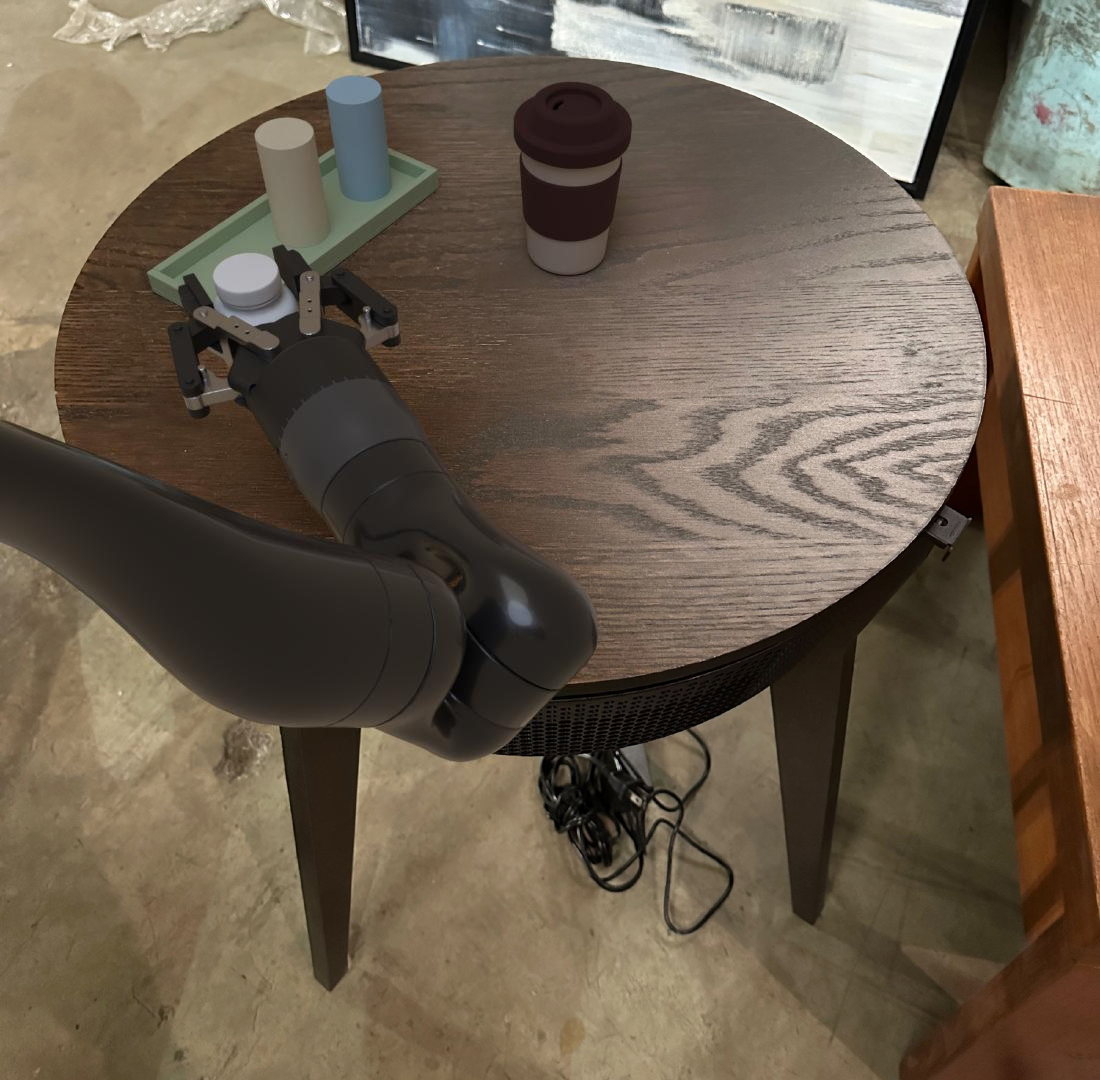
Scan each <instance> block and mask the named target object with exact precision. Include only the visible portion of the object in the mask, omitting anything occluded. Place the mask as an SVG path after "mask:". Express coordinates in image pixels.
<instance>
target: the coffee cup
mask: <svg viewBox="0 0 1100 1080" xmlns="http://www.w3.org/2000/svg"><path fill="white" fill-rule="evenodd" d="M632 130H633V121H632V118H631V115H630V113H629V112H628V110H627V109H626V108H625V107H624V106H623V105H622V104H621V103H620V102H618V101H616V100H615V99H614V98H613V97H612V95H611V94H610V93H609V92H607V91H606V90H605V89H603V88H601V87H599V86H597V85H594V84H591V83H587V82H582V81H561V82H556V83H552V84H549V85H546V86H545V87H543V88H541V89H539V90H538V91H537V92H536V93H535V95H533V96H531V97H530V98H527V99H526V100H525V101H523V102H522V103H521V104H520V105H519V106H518V107H517V109H516V110H515V113H514V115H513V139H514V143H515V145H516V146H517V148H518V149H519V150H520V153H519V161H518V162H519V173H520V174H519V175H520V176H519V177H520V188H521V202H522V204H521V205H522V215H523V219H524V221H525V227H526V228H525V230H526V243H527V245H526V246H527V252H528V255H529V257H530V259H531V261H532V262H533V263H534V264H535V265H536V266H537V267H539V268H541V269H542V270H544V271H546V272H549V273H552V274H556V275H561V276H562V275H563V276H571V275H572V276H574V275H581V274H584V273H587V272H589V271H592V270H593V269H595V268H596V267H597V266H599V265H600V264H601V262H602V261H603V259H604V256H605V255H606V251H607V244H608V237H609V232H610V226H611V224H612V222H613V220H614V217H615V216H614V215H615V211H616V206H617V205H616V203H617V198H618V194H619V193H618V192H619V187H620V181H621V180H620V179H621V174H622V169H623V154H625V152H627V150H628V148H629V147H630V144H631V141H632Z"/></svg>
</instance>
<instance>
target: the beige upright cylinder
mask: <svg viewBox="0 0 1100 1080" xmlns="http://www.w3.org/2000/svg"><path fill="white" fill-rule="evenodd" d="M254 140H255V145H256V150H257V153H258V154H257V155H258V158H259V163H260V168H261V173H262V177H263V181H264V187H265V192H266V193H267V196H268V201H269V205H270V210H271V215H272V219H273V224H274V228H275V233H276V237H277V239H278V240H279V241H280V242H281V243H283V244H284V245H287V246H290V247H294V248H306V247H311V246H315V245H317V244H319V243H321V242H322V241H324V240H325V239H326V238H327V237H328V235H329V233H330V226H329V220H328V214H327V208H326V202H325V196H324V190H323V184H322V178H321V172H320V166H319V160H318V158H319V155H318V154H319V153H318V148H317V143H316V137H315V131H314V127H313V126H312V125H311V124H310V123H309V122H308V121H306V120H303V119H300V118H297V117H279V118H273V119H270V120H268V121H265V122H264V123H262V124H260V125H259V126H258V127H257V129H256V130H255V132H254Z"/></svg>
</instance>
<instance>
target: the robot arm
mask: <svg viewBox="0 0 1100 1080" xmlns="http://www.w3.org/2000/svg"><path fill="white" fill-rule="evenodd" d="M272 251H273V255H274V260H275V262H276V264H277V266H278V269H279V273H280V277H281V278H282V280H283V281H284V283H285V284H286V285H287V287H288V288H289V290H290V291H291V292H292V293H293V295H294V297H295V299H296V301H297V303H298V304H299V305H298V307H299V312H298V311H297V312H294V313H291V314H288V315H286V316H284V317H282V318H280V319H279V320H277V321H275V322H270V323H264V324H260V325H257V326H252V325H250V324H248V323H247V322H245V321H243V320H241V319H240V318H238V317H236V316H234V315H232V316H230V317H229V318H228V317H226V316H225V315H223V314H221V313H219V312H218V311H216V310H215V308H214V305H213V302H212V301H211V299H210V297H209V296H208V294H207V293H206V291H205V290H204V288H203V286H202V285H201V283H200V282H199V280H198V279H197V277H196V275H195V274H194V273H191V274H188V275H185V276H183V280H184V283H185V284H184V285H181V286H178V293H179V296H180V299H181V302H182V306H183V308H182V309H183V311H184V312H185V314H186V316H187V317H188V319H189V320H188V321H187V322H184V321H175V322H172V323H171V324H169V325H168V327H167V336H168V339H169V340H168V341H169V345H170V349H171V354H172V355H171V356H172V359H173V363H174V369H175V373H176V378H177V383H178V386H179V390H180V392H181V395H182V398H183V400H184V403H185V406H186V410H187V412H188V414H189V416H190V417H191V418H192V419H194V420H201V419H205V418H206V417H208V416H209V415H210V413H211V407H210V406H213V405H218V404H222V403H226V402H232V401H234V402H235V404H237V405H239V406H241V407H243V408H245V409H247V410H248V411H249V412H250V413H251V414H252V415H253V417H254V418H255V420H256V422H257V423H258V425H259V426H260V428H261V430H262V432H263V433H264V435H265V437H266V438H267V440H268V441H269V443H270V445H271V446H272V448H273V449H274V451H275V452H276V454H277V456H278V458H279V459H280V461H281V463H282V464H283V466H284V467H285V469H286V474H287V476H288V478H289V479H290V481H291V482H292V484H293V485H294V487H295V488H296V489H298V490H299V492H300V493H301V495H302V496H303V498H304V499H305V501H306V502H307V503H308V505H309V506H310V507H311V508H312V509H313V510H314V511H315V512H316V513H317V514H318V516H319V517H320V518H321V519H322V521H323V522H324V523H325V525H326V526H327V528H328V530H329V532H330V533H331V535H332V537H333V538H334V540H335V541H333V540H328V539H324V538H319V537H315V536H310V535H305V534H303V533H300V532H295V531H292V530H288V529H285V528H282V527H278V526H276V525H273V524H270V523H266V522H264V521H260V520H258V519H255V518H253V517H249V516H247V515H244V514H241V513H239V512H236V511H234V510H231V509H229V508H226V507H223V506H221V505H219V504H216V503H214V502H211V501H209V500H206V499H204V498H202V497H200V496H197V495H195V494H193V493H190V492H187V491H186V490H183V489H181V488H179V487H176V486H174V485H172V484H170V483H167V482H165V481H163V480H160V479H158V478H156V477H153V476H150V475H149V474H146V473H143V472H141V471H139V470H135V469H134V468H132V467H128V466H126V465H124V464H121V463H118V462H116V461H114V460H111V459H108V458H105V457H103V456H100V455H99V454H95V453H93V452H91V451H88V450H86V449H83V448H80V447H77V446H75V445H73V444H69V443H67V442H64V441H62V440H59V439H56V438H53V437H50V436H48V435H45V434H42V433H40V432H38V431H35V430H32V429H29V428H27V427H24V426H22V425H19V424H18V423H14V422H12V421H10V420H7V419H5V418H3V417H0V543H2V544H3V545H6V546H8V547H12V548H13V549H15V550H17V551H19V552H21V553H22V554H25V555H27V556H29V557H31V558H33V559H34V560H36V561H37V562H39V563H41V564H42V565H44V566H46V567H47V568H49V569H50V570H52V571H54V572H55V573H56V574H57V575H59V576H60V577H61V578H63V579H64V580H65V581H66V582H68V583H69V584H70V585H72V586H73V587H74V588H75V589H76V590H78V592H79V591H80V593H82V594H83V595H85V596H86V597H87V598H89V599H90V600H91V602H93V603H94V604H95V605H96V606H98V607H99V608H100V609H101V610H102V611H103V613H105V614H106V615H107V616H109V617H110V618H111V619H112V620H113V621H114V622H115V623H116V624H117V625H118V626H120V627H121V628H122V629H123V630H124V631H125V632H126V634H128V635H129V636H130V637H131V638H132V639H133V640H134V641H135V643H137V644H138V645H139V646H140V648H142V650H143V651H145V652H146V653H147V654H148V655H149V656H150V657H151V658H152V659H153V660H154V661H156V663H157V664H159V665H160V666H161V667H162V668H163V669H164V670H166V671H167V672H168V674H170V675H171V676H172V677H173V678H174V679H175V680H177V681H178V682H179V684H181V685H183V686H184V687H185V688H186V689H188V690H189V691H190V692H192V693H193V694H195V695H196V696H197V697H199V698H200V699H201V700H203V701H204V702H206V703H208V704H210V705H212V706H213V707H215V708H216V709H219V710H221V711H223V712H226V713H227V714H228V713H229V714H231V715H233V716H235V717H238V718H240V719H242V720H245V721H248V722H253V723H257V724H261V725H266V726H267V725H268V726H274V727H284V728H293V729H297V728H298V729H309V728H311V729H313V728H316V729H317V728H323V729H326V728H327V729H328V728H330V729H332V728H335V729H338V728H339V729H375V730H377V731H380V732H382V733H384V734H385V735H386V734H387V735H389V736H391V737H394V738H396V739H399V740H401V741H404V742H406V743H408V744H411V745H413V746H416V747H418V748H420V749H423V750H425V751H427V752H428V753H431V754H432V755H434V756H436V757H438V758H441V759H443V760H446V761H449V762H453V763H467V762H473V761H476V760H480V759H483V758H485V757H488V756H490V755H492V754H494V753H496V752H497V751H499V750H501V749H503V748H504V747H505V746H506V745H507V744H509V743H510V742H511V741H512V740H513V739H514V738H516V737H517V735H518V734H519V733H520V732H521V731H522V730H523V729H524V728H525V727H526V726H527V724H528V723H529V722H531V721H532V719H533V718H535V717H536V716H537V715H538V714H539V713H540V712H541V711H542V709H544V708H545V707H546V706H547V705H548V704H549V702H551V701H552V700H553V699H554V698H555V697H556V696H557V695H558V694H559V693H560V692H561V691H562V689H563V688H564V687H566V686H567V685H568V684H569V683H570V682H571V681H572V680H573V679H574V678H575V677H576V676H577V675H578V674H579V673H580V671H581V670H583V668H584V667H585V666H586V665H587V664H588V663H589V662H590V660H591V658H592V657H593V656H594V653H595V652H596V649H597V647H598V643H599V620H598V615H597V611H596V608H595V605H594V603H593V600H592V598H591V597H590V595H589V593H588V592H587V590H586V589H585V587H584V586H583V585H582V583H580V581H578V579H577V578H575V577H574V576H573V575H572V574H571V573H569V572H568V571H567V570H565V569H564V568H563V567H562V566H561V565H559V564H557V563H556V562H555V561H553V560H552V559H550V558H549V557H548V556H546V555H544V554H542V553H541V552H539V551H538V550H536V549H535V548H534V547H532V546H530V545H529V544H527V543H525V541H522V540H521V539H520V538H518V537H517V536H515V535H514V534H512V533H511V532H510V531H509V530H508V529H507V528H505V527H504V526H503V525H501V524H500V523H499V522H498V521H496V520H495V519H494V518H493V517H492V516H491V515H489V514H488V513H487V511H485V510H484V509H482V507H481V506H480V505H478V503H476V502H475V501H474V500H473V498H472V497H471V496H470V495H469V494H468V492H466V490H465V489H464V488H463V486H462V485H461V483H459V481H458V480H457V478H456V477H455V476H454V474H453V473H452V472H451V470H450V469H449V468H448V466H447V465H446V463H444V461H443V459H442V458H441V457H440V456H439V454H438V453H437V451H436V449H435V448H434V447H433V445H432V442H431V441H430V439H429V436H428V435H427V433H426V431H425V429H424V427H423V425H422V424H421V422H420V420H419V419H418V417H417V416H416V415H415V414H414V412H413V410H412V409H411V408H410V407H409V405H408V404H407V402H406V401H405V400H404V399H403V397H402V396H401V394H400V393H399V392H398V390H397V389H396V388H395V387H394V385H393V384H392V382H391V381H390V380H389V378H388V377H387V376H386V374H385V373H384V371H383V370H382V369H381V367H380V365H378V364H377V362H376V360H375V359H374V358H373V357H372V356H371V354H370V353H369V350H371V349H373V348H375V347H376V346H379V345H380V344H381V345H382V346H384V347H386V348H390V349H391V348H396V347H398V346H400V344H401V343H402V339H401V338H402V337H401V328H400V319H399V313H398V307H397V306H395V304H393V303H392V302H391V301H389V300H388V299H387V298H385V297H384V296H383V295H381V294H380V293H379V292H378V291H376V289H374V288H372V287H371V286H370V285H369V284H367V283H366V282H365V281H364V280H362V278H360V277H359V276H357V275H356V274H355V273H354V272H353V271H351V270H349V268H346V267H337V268H333V269H332V271H331V272H330V275H329V274H328V275H323V276H320V275H319V274H318V273H317V272H315V271H313V270H312V269H311V268H310V266H309V265H308V264H307V262H306V261H305V260H304V258H303V257H302V256H301V254H300V253H299V252H297V251H296V250H294V249H292V250H289V251H288V250H287V249H286V247H285V246H284V245H283V244H282V245H279V246H276V247H273V248H272ZM331 306H336V308H337V309H338V310H339V311H341V313H343V314H345V315H346V317H348V318H349V319H350V320H352V321H353V322H354V323H356V325H358V327H359V328H357V327H355V326H351V325H348V324H345V323H342V322H338V321H334V320H332V319H329V318H327V316H326V313H327V312H326V307H331ZM299 313H300V314H299ZM205 350H207V351H209V352H210V353H212V354H214V355H215V356H217V357H219V358H220V359H222V361H224V362H225V364H226V363H227V365H228V366H229V367H230V371H229V372H228V373H227V377H226V378H220V377H218V376H217V375H216V374H215V372H214V371H213V370H211V369H207V365H205V364H201V362H200V358H199V354H201V353H202V352H204V351H205ZM227 365H226V366H227ZM459 578H460V579H459ZM458 579H459V580H458ZM456 580H458V581H457V583H456V584H455V585H454V586H453V587H452V586H451V584H452V583H453V582H454V581H456Z"/></svg>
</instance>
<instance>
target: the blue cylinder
mask: <svg viewBox="0 0 1100 1080" xmlns="http://www.w3.org/2000/svg"><path fill="white" fill-rule="evenodd" d="M382 90H383V89H382V85H381V84H380V82H378V81H377V80H376V79H374V78H372V77H369V76H365V75H361V74H360V75H359V74H358V75H357V74H353V75H352V74H351V75H344V76H341V77H340V76H339V77H338V78H335V79H333V80H332V81H330V82H329V83H328V84H327V85H326V87H325V97H326V103H327V109H328V117H329V123H330V130H331V136H332V142H333V148H334V150H335V157H336V163H337V170H338V177H339V183H340V189H341V192H342V193H343V195H344V196H346V197H347V198H349V199H352V200H355V201H363V202H366V201H374V200H378V199H380V198H382V197H384V196H386V195H387V194H388V193H389V192H390V190H391V187H392V184H391V174H390V165H389V155H388V148H389V147H388V138H387V137H388V136H387V128H386V119H385V117H386V116H385V109H384V99H383V91H382Z"/></svg>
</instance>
